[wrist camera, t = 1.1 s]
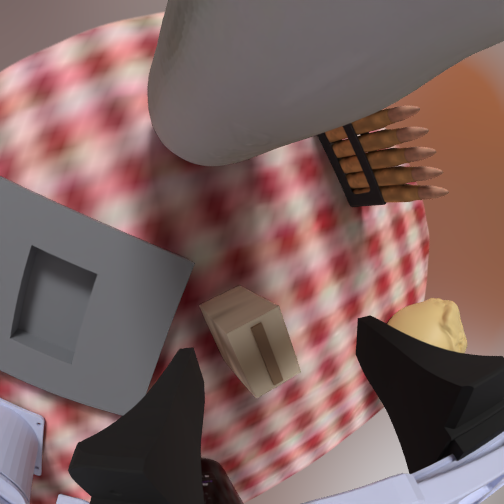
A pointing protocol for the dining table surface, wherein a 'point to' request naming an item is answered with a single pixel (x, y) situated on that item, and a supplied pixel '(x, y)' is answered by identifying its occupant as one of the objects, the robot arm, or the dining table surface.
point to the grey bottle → (298, 66)
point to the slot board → (82, 302)
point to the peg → (251, 339)
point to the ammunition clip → (380, 160)
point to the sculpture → (432, 324)
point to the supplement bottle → (217, 484)
